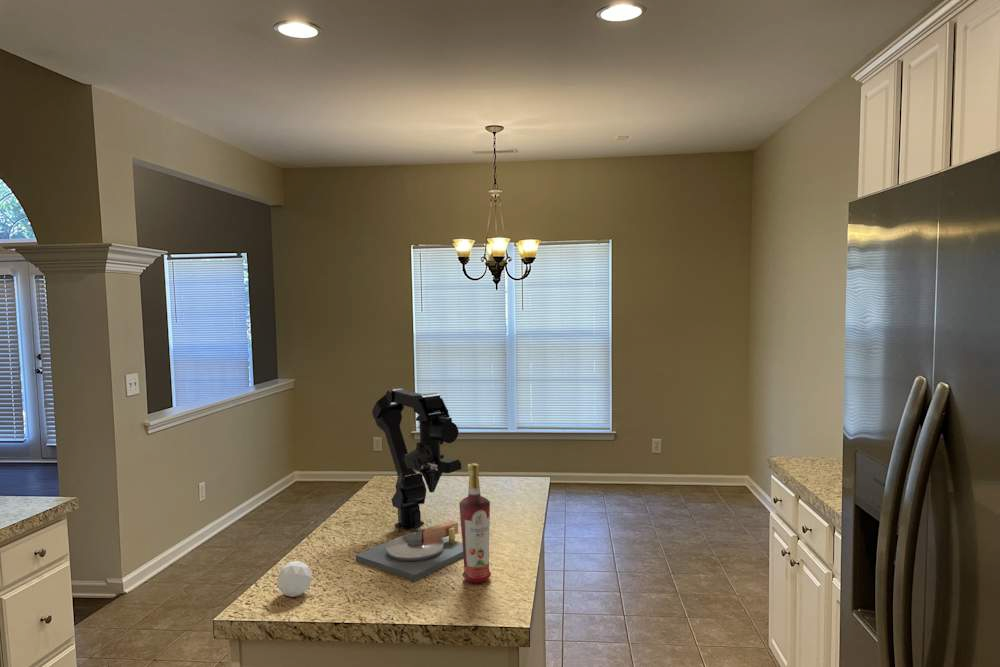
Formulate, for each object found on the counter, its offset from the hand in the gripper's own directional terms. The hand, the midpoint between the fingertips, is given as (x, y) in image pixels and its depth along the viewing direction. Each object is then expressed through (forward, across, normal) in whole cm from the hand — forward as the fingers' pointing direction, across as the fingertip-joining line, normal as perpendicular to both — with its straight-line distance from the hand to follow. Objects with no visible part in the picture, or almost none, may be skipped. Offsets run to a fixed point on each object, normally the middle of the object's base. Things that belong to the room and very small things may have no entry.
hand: (431, 492), depth 184 cm
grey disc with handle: (+11, +7, -10) cm, 17 cm away
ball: (+13, -1, -45) cm, 47 cm away
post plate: (+13, +6, -13) cm, 19 cm away
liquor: (+13, +29, -15) cm, 35 cm away
